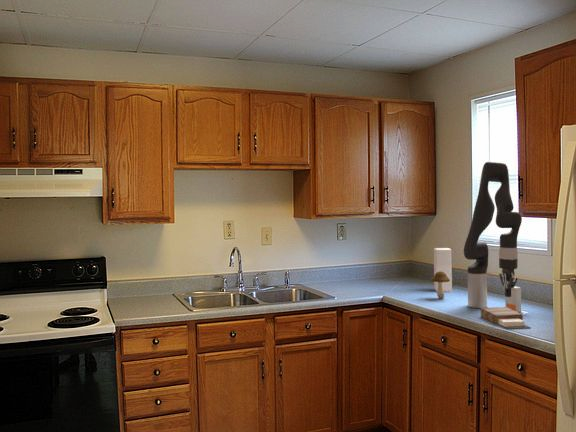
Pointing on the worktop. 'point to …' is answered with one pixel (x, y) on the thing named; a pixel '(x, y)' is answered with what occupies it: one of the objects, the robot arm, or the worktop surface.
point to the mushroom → (440, 282)
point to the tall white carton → (443, 267)
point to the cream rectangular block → (511, 322)
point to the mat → (517, 327)
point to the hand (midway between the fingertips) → (508, 296)
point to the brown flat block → (499, 314)
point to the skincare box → (514, 299)
